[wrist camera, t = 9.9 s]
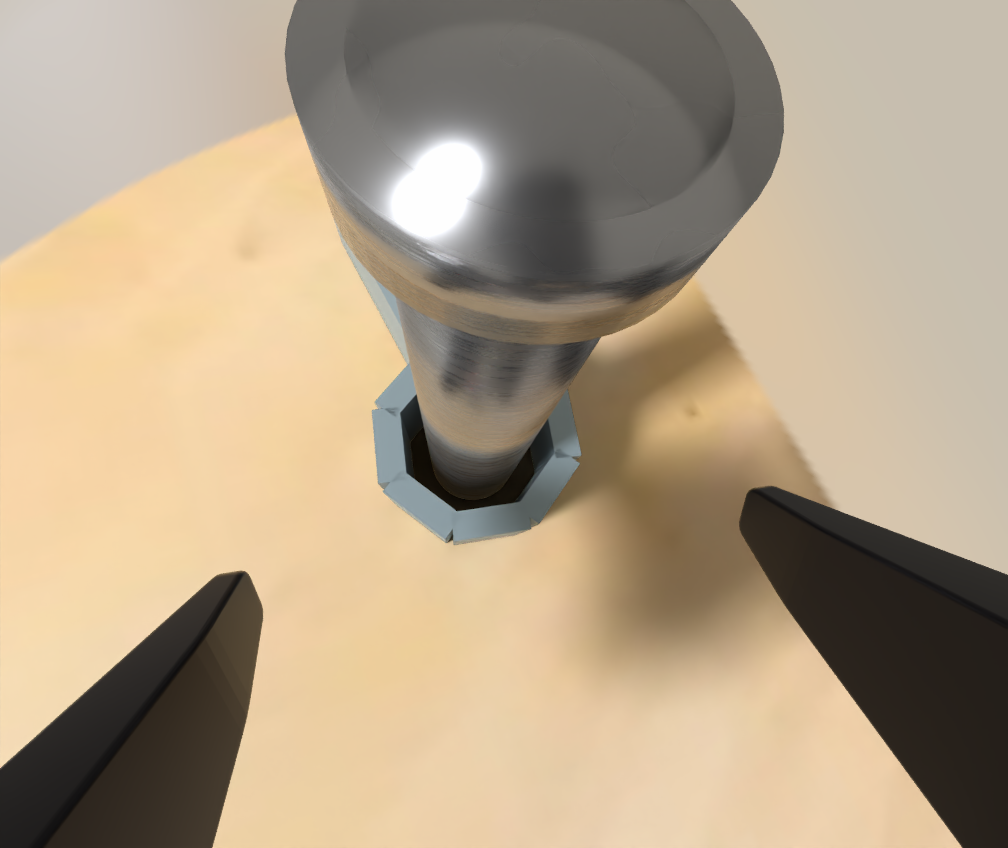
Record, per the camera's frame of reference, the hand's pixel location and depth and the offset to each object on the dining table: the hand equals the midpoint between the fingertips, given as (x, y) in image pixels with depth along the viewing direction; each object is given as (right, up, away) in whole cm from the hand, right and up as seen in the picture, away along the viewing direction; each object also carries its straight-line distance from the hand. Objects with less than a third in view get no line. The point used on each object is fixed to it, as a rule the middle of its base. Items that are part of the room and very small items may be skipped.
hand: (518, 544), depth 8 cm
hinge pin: (-1, +1, +9) cm, 9 cm away
